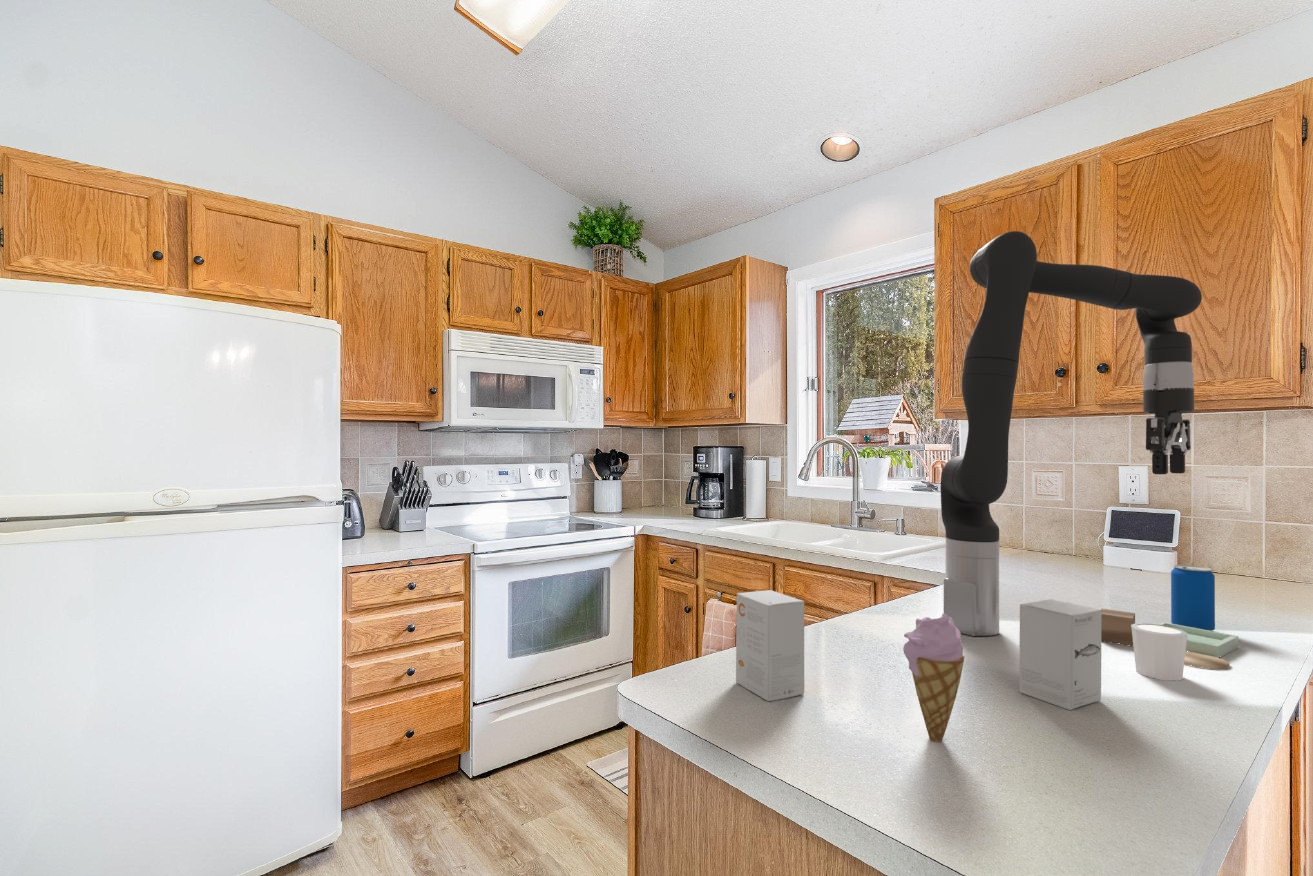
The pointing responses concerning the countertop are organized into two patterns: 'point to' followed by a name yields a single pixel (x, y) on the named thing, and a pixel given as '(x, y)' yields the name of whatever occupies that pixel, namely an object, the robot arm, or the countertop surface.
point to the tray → (1207, 640)
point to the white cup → (1159, 651)
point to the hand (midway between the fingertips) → (1168, 473)
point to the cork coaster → (1205, 661)
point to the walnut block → (1117, 626)
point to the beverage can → (1193, 597)
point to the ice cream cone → (935, 669)
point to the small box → (770, 644)
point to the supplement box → (1060, 653)
